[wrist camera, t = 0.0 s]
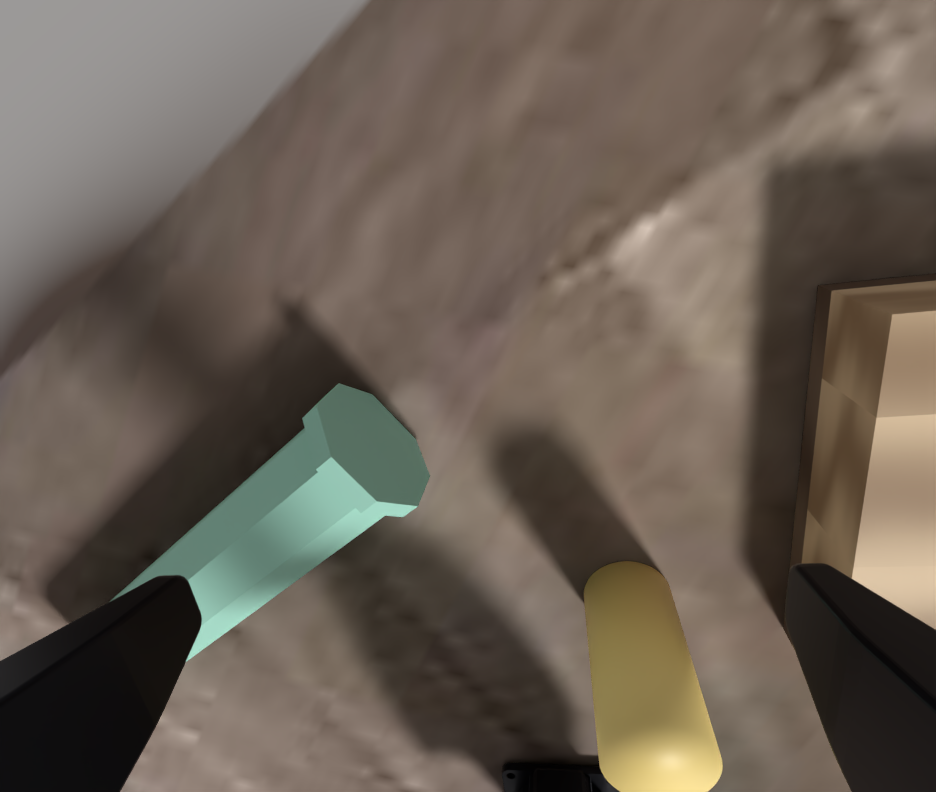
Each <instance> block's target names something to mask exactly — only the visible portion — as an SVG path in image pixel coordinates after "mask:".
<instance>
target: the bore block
mask: <svg viewBox="0 0 936 792" xmlns="http://www.w3.org/2000/svg"><path fill="white" fill-rule="evenodd" d="M801 563H824V564H828V565H830V566H832V567H834V568H835V569H837V570H839V571H840V572H842V573H843V574H845V575H847V576H848V577H850V578H852V579H853V580H855V581H857V582H858V583H860V584H862V585H863V586H865V587H866V588H868V589H870V590H871V591H873V592H875V593H876V594H878V595H880V596H881V597H883V598H885V599H886V600H888V601H890V602H891V603H893V604H894V605H896V606H898V607H899V608H901V609H903V610H904V611H906V612H908V613H909V614H911V615H913V616H914V617H916V618H917V619H919V620H921V621H922V622H924V623H926V624H927V625H929V626H931V627H932V628H934V629H936V274H926V275H916V276H906V277H896V278H886V279H876V280H866V281H856V282H846V283H836V284H826V285H818V290H817V300H816V310H815V320H814V330H813V340H812V350H811V360H810V370H809V380H808V390H807V399H806V409H805V419H804V429H803V439H802V449H801V459H800V469H799V479H798V489H797V499H796V508H795V518H794V528H793V538H792V548H791V558H790V568H791V567H792V566H793V565H795V564H801ZM790 568H789V571H790ZM783 629H784V631H785V633H786V634H787V636H788V638H789V640H790V642H791V644H792V641H791V638H790V635H789V633H788V630H787V626H786V621H785V617H784V627H783ZM792 646H793V644H792ZM793 648H794V646H793ZM794 650H795V649H794Z"/></svg>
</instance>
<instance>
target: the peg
mask: <svg viewBox="0 0 936 792" xmlns="http://www.w3.org/2000/svg"><path fill="white" fill-rule="evenodd" d="M584 603H585V614H586V625H587V636H588V647H589V658H590V669H591V680H592V690H593V701H594V712H595V723H596V734H597V745H598V756H599V765H600V769H601V772H602V774H603V775H604V777H605V778H606V780H607V781H608V782H609V783H610V784H611V785H612V786H613V787H614V788H616V789H617V790H619V791H620V792H707V791H709V790H710V789H711V788H712V787H713V786H714V785H715V784H716V783H717V781H718V780H719V778H720V776H721V773H722V768H723V766H722V759H721V755H720V752H719V748H718V745H717V742H716V738H715V735H714V732H713V729H712V725H711V722H710V719H709V715H708V712H707V709H706V705H705V702H704V699H703V696H702V692H701V689H700V686H699V682H698V679H697V676H696V672H695V669H694V666H693V663H692V659H691V656H690V653H689V649H688V646H687V643H686V640H685V636H684V633H683V630H682V626H681V623H680V620H679V616H678V613H677V610H676V607H675V603H674V600H673V597H672V593H671V590H670V587H669V584H668V582H667V581H666V579H665V578H664V577H663V575H662V574H661V573H659V572H658V571H657V570H655V569H654V568H652V567H650V566H648V565H645V564H642V563H638V562H632V561H622V562H615V563H611V564H608V565H606V566H603V567H602V568H600V569H598V570H597V571H596V572H594V573H593V574H592V575H591V577H590V578H589V579H588V581H587V583H586V585H585V588H584Z"/></svg>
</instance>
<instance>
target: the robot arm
mask: <svg viewBox="0 0 936 792" xmlns="http://www.w3.org/2000/svg"><path fill="white" fill-rule="evenodd" d="M785 621H786V626H787V630H788V633H789V635H790V638H791V641H792V644H793V646H794V649H795V652H796V654H797V657H798V660H799V663H800V665H801V668H802V671H803V674H804V676H805V679H806V682H807V684H808V687H809V690H810V693H811V695H812V698H813V701H814V703H815V706H816V709H817V712H818V714H819V717H820V720H821V723H822V725H823V728H824V731H825V733H826V736H827V738H828V741H829V743H830V746H831V749H832V751H833V753H834V755H835V757H836V760H837V762H838V764H839V766H840V768H841V771H842V773H843V775H844V777H845V779H846V781H847V783H848V785H849V787H850V789H851V791H852V792H936V629H934V628H932V627H931V626H929V625H927V624H926V623H924V622H922V621H921V620H919V619H917V618H916V617H914V616H913V615H911V614H909V613H908V612H906V611H904V610H903V609H901V608H899V607H898V606H896V605H894V604H893V603H891V602H890V601H888V600H886V599H885V598H883V597H881V596H880V595H878V594H876V593H875V592H873V591H871V590H870V589H868V588H866V587H865V586H863V585H862V584H860V583H858V582H857V581H855V580H853V579H852V578H850V577H848V576H847V575H845V574H843V573H842V572H840V571H839V570H837V569H835V568H834V567H832V566H830V565H828V564H824V563H801V564H795V565H793V566H792V567H791V568H790V571H789V575H788V585H787V595H786V605H785ZM201 624H202V616H201V612H200V609H199V607H198V604H197V602H196V599H195V597H194V594H193V591H192V589H191V586H190V584H189V582H188V580H187V579H186V578H185V577H184V576H181V575H163V576H157V577H155V578H153V579H151V580H149V581H147V582H145V583H143V584H142V585H140V586H138V587H136V588H134V589H132V590H130V591H129V592H127V593H125V594H123V595H121V596H119V597H118V598H116V599H114V600H112V601H110V602H108V603H107V604H105V605H103V606H101V607H99V608H97V609H96V610H94V611H92V612H90V613H88V614H86V615H84V616H83V617H81V618H79V619H77V620H75V621H73V622H72V623H70V624H68V625H66V626H64V627H62V628H61V629H59V630H57V631H55V632H53V633H51V634H49V635H48V636H46V637H44V638H42V639H40V640H38V641H37V642H35V643H33V644H31V645H29V646H27V647H26V648H24V649H22V650H20V651H18V652H16V653H14V654H13V655H11V656H9V657H7V658H5V659H3V660H2V661H0V792H120V791H121V789H122V787H123V786H124V784H125V782H126V780H127V778H128V777H129V775H130V773H131V771H132V769H133V768H134V766H135V764H136V762H137V760H138V759H139V757H140V755H141V753H142V751H143V750H144V748H145V746H146V744H147V742H148V741H149V739H150V737H151V735H152V733H153V731H154V729H155V727H156V725H157V723H158V721H159V719H160V717H161V715H162V713H163V711H164V709H165V706H166V704H167V702H168V700H169V698H170V695H171V693H172V691H173V689H174V687H175V684H176V682H177V680H178V678H179V676H180V673H181V671H182V669H183V667H184V665H185V662H186V660H187V658H188V656H189V654H190V651H191V649H192V647H193V645H194V643H195V640H196V638H197V636H198V634H199V631H200V628H201ZM502 778H503V784H504V790H505V792H620V791H619V790H617V789H616V788H614V787H613V786H612V785H611V784H610V783H609V782H608V781H607V780H606V778H605V777H604V775H603V774H602V772H601V769H600V767H592V766H569V765H546V764H523V763H507V764H504V766H503V771H502Z"/></svg>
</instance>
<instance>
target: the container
mask: <svg viewBox="0 0 936 792" xmlns="http://www.w3.org/2000/svg"><path fill="white" fill-rule="evenodd" d="M302 419H303V423H304V427H305V428H304V429H303V430H302V431H301V432H299V433H298V434H297V435H296V436H295V437H294V438H293V439H292V440H290V441H289V442H288V443H287V444H286V445H285V446H284V447H283V448H281V449H280V450H279V451H278V452H277V453H276V454H275V455H274V456H273V457H271V458H270V459H269V460H268V461H267V462H266V463H265V464H264V465H262V466H261V467H260V468H259V469H258V470H257V471H256V472H255V473H253V474H252V475H251V476H250V477H249V478H248V479H247V480H246V481H244V482H243V483H242V484H241V485H240V486H239V487H238V488H237V489H235V490H234V491H233V492H232V493H231V494H230V495H229V496H228V497H226V498H225V499H224V500H223V501H222V502H221V503H220V504H219V505H217V506H216V507H215V508H214V509H213V510H212V511H211V512H210V513H209V514H207V515H206V516H205V517H204V518H203V519H202V520H201V521H200V522H198V523H197V524H196V525H195V526H194V527H193V528H192V529H191V530H189V531H188V532H187V533H186V534H185V535H184V536H183V537H182V538H180V539H179V540H178V541H177V542H176V543H175V544H174V545H173V546H171V547H170V548H169V549H168V550H167V551H166V552H165V553H164V554H162V555H161V556H160V557H159V558H158V559H157V560H156V561H155V562H153V563H152V564H151V565H150V566H149V567H148V568H147V569H146V570H144V571H143V572H142V573H141V574H140V575H139V576H138V577H137V578H136V579H134V580H133V581H132V582H131V583H130V584H129V585H128V586H127V587H125V588H124V589H123V590H122V591H121V592H120V593H119V594H118V595H116V596H115V597H114V598H113V599H112V600H114V599H116V598H118V597H119V596H121V595H123V594H125V593H127V592H129V591H130V590H132V589H134V588H136V587H138V586H140V585H142V584H143V583H145V582H147V581H149V580H151V579H153V578H155V577H157V576H163V575H181V576H184V577H185V578H186V579H187V580H188V582H189V584H190V586H191V589H192V591H193V594H194V597H195V599H196V602H197V604H198V607H199V609H200V612H201V616H202V624H201V628H200V631H199V634H198V636H197V638H196V640H195V643H194V645H193V647H192V649H191V651H190V654H189V656H188V658H187V660H186V661H188V660H189V659H190V658H192V657H193V656H195V655H196V654H197V653H199V652H200V651H201V650H203V649H204V648H205V647H207V646H208V645H210V644H211V643H212V642H214V641H215V640H216V639H218V638H219V637H220V636H222V635H223V634H225V633H226V632H227V631H229V630H230V629H231V628H233V627H234V626H235V625H237V624H238V623H240V622H241V621H242V620H244V619H245V618H246V617H248V616H249V615H250V614H252V613H253V612H255V611H256V610H257V609H259V608H260V607H261V606H263V605H264V604H265V603H267V602H268V601H270V600H271V599H272V598H274V597H275V596H276V595H278V594H279V593H280V592H282V591H283V590H285V589H286V588H287V587H289V586H290V585H291V584H293V583H294V582H295V581H297V580H298V579H300V578H301V577H302V576H304V575H305V574H306V573H308V572H309V571H310V570H312V569H313V568H315V567H316V566H317V565H319V564H320V563H321V562H323V561H324V560H325V559H327V558H328V557H330V556H331V555H332V554H334V553H335V552H336V551H338V550H339V549H340V548H342V547H343V546H345V545H346V544H347V543H349V542H350V541H351V540H353V539H354V538H355V537H357V536H358V535H360V534H361V533H362V532H364V531H365V530H366V529H368V528H369V527H370V526H372V525H373V524H375V523H376V522H377V521H379V520H380V519H381V518H383V517H384V516H396V517H404V516H405V515H407V514H408V513H409V512H411V511H412V510H413V509H415V508H416V507H418V505H419V502H420V500H421V497H422V495H423V492H424V490H425V487H426V485H427V482H428V480H429V477H430V475H429V472H428V470H427V467H426V464H425V462H424V459H423V457H422V454H421V452H420V449H419V446H418V444H417V441H416V439H415V438H414V437H413V436H412V435H411V434H410V433H409V432H408V431H407V430H406V429H405V428H404V427H403V425H402V424H401V423H400V422H399V421H398V420H397V419H396V418H395V417H394V416H393V415H392V414H391V413H390V412H389V411H388V410H387V409H386V408H385V407H384V406H383V405H382V404H381V403H380V402H379V401H378V400H377V399H376V398H375V397H374V396H373V395H372V394H370V393H367V392H364V391H361V390H358V389H355V388H352V387H349V386H346V385H343V384H340V383H338V384H337V385H336V386H335V387H334V388H333V389H332V390H331V391H330V392H328V393H327V394H326V395H325V396H324V397H323V398H322V399H321V400H320V401H319V402H318V403H317V404H316V405H315V406H314V407H313V408H312V409H311V410H310V411H309V412H308V413H307V414H306V415H305V416H304V417H303V418H302ZM112 600H111V601H112Z"/></svg>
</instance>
